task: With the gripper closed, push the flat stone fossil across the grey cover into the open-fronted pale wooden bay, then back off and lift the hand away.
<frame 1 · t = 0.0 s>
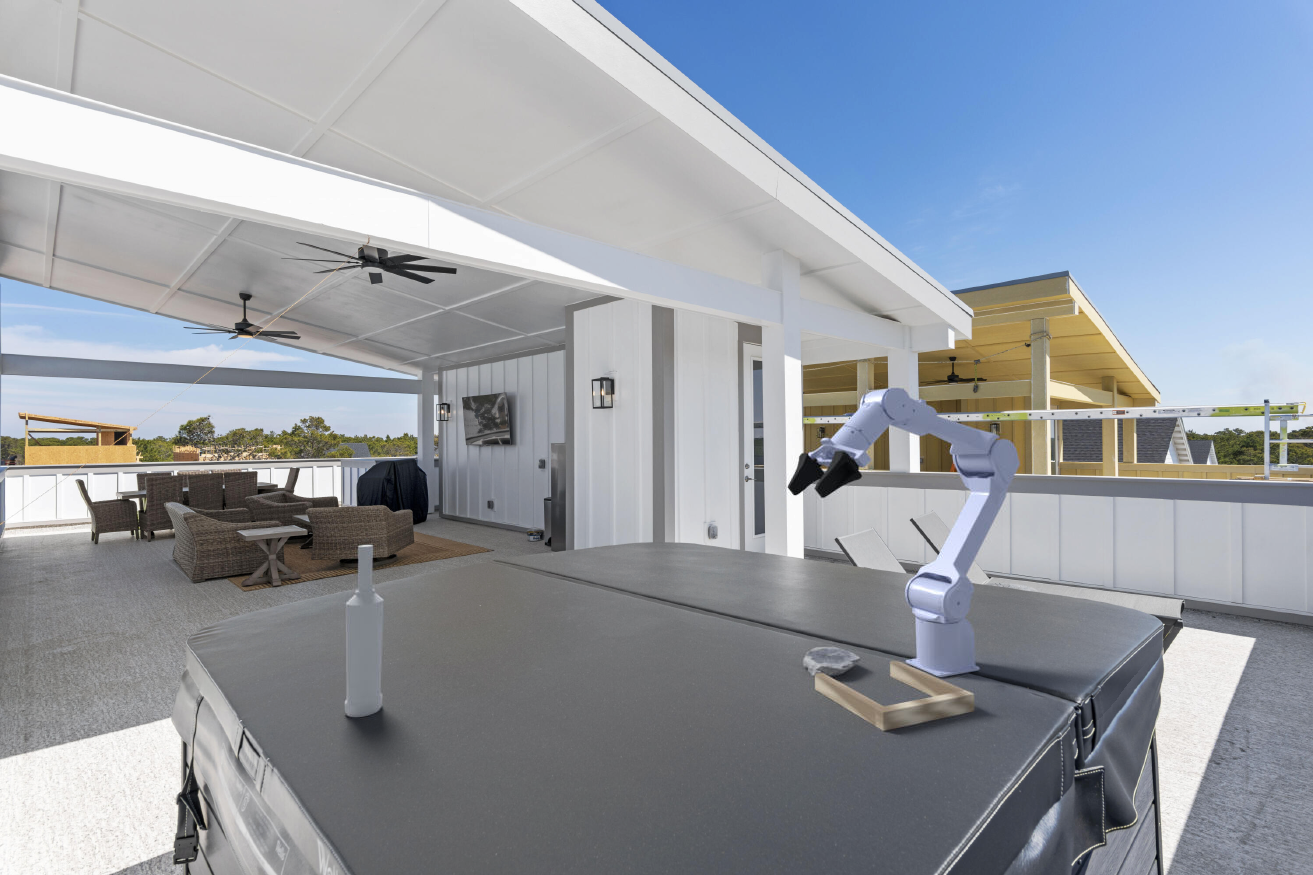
hand: (804, 492, 95), 32 cm above the table, tool tilted 50°, fingers open, 7 cm apart
fossil: (831, 671, 103), on the table
bottle: (363, 711, 87), on the table
bay: (887, 697, 90), on the table
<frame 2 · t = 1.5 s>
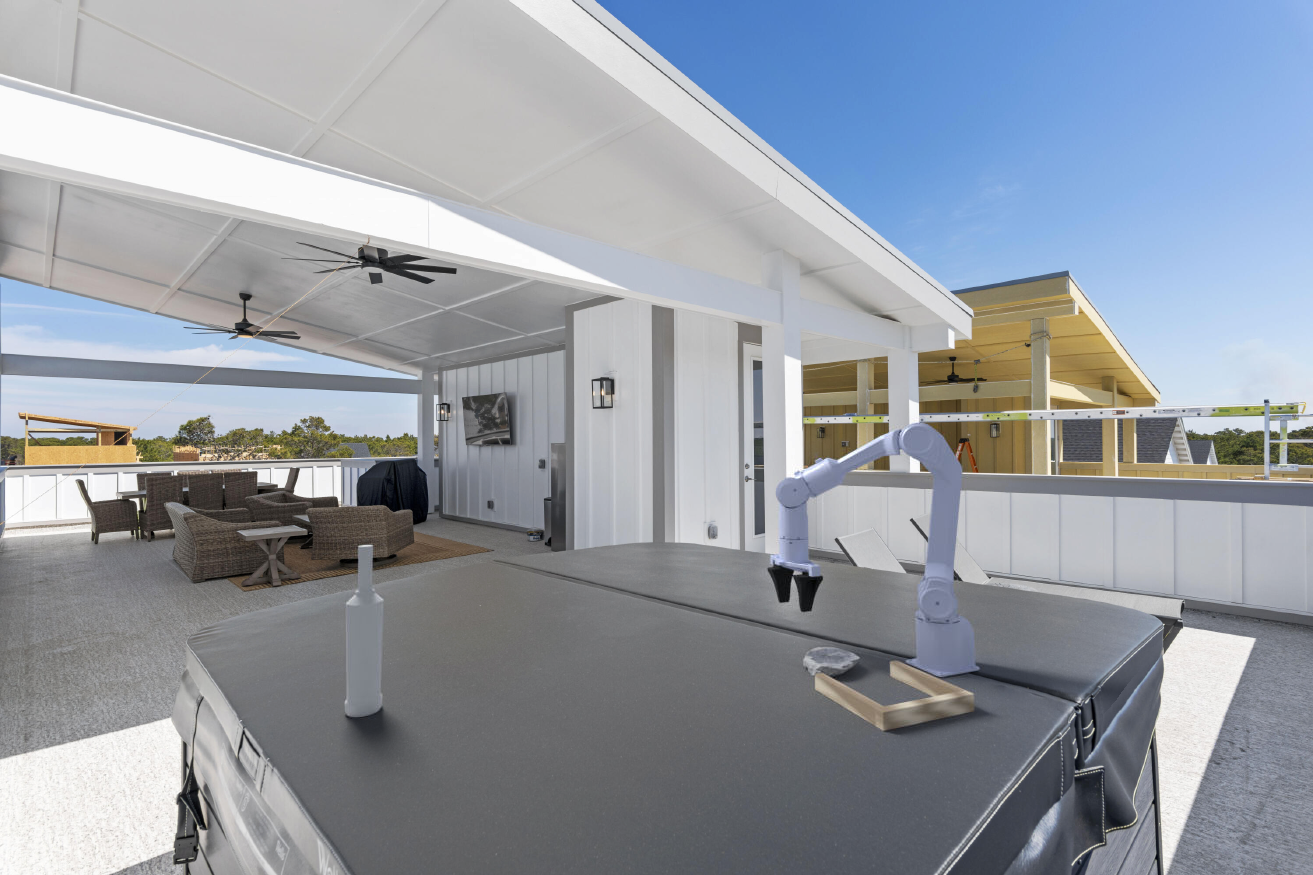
hand: (794, 606, 114), 8 cm above the table, tool pointing down, fingers open, 7 cm apart
nothing on the table moved.
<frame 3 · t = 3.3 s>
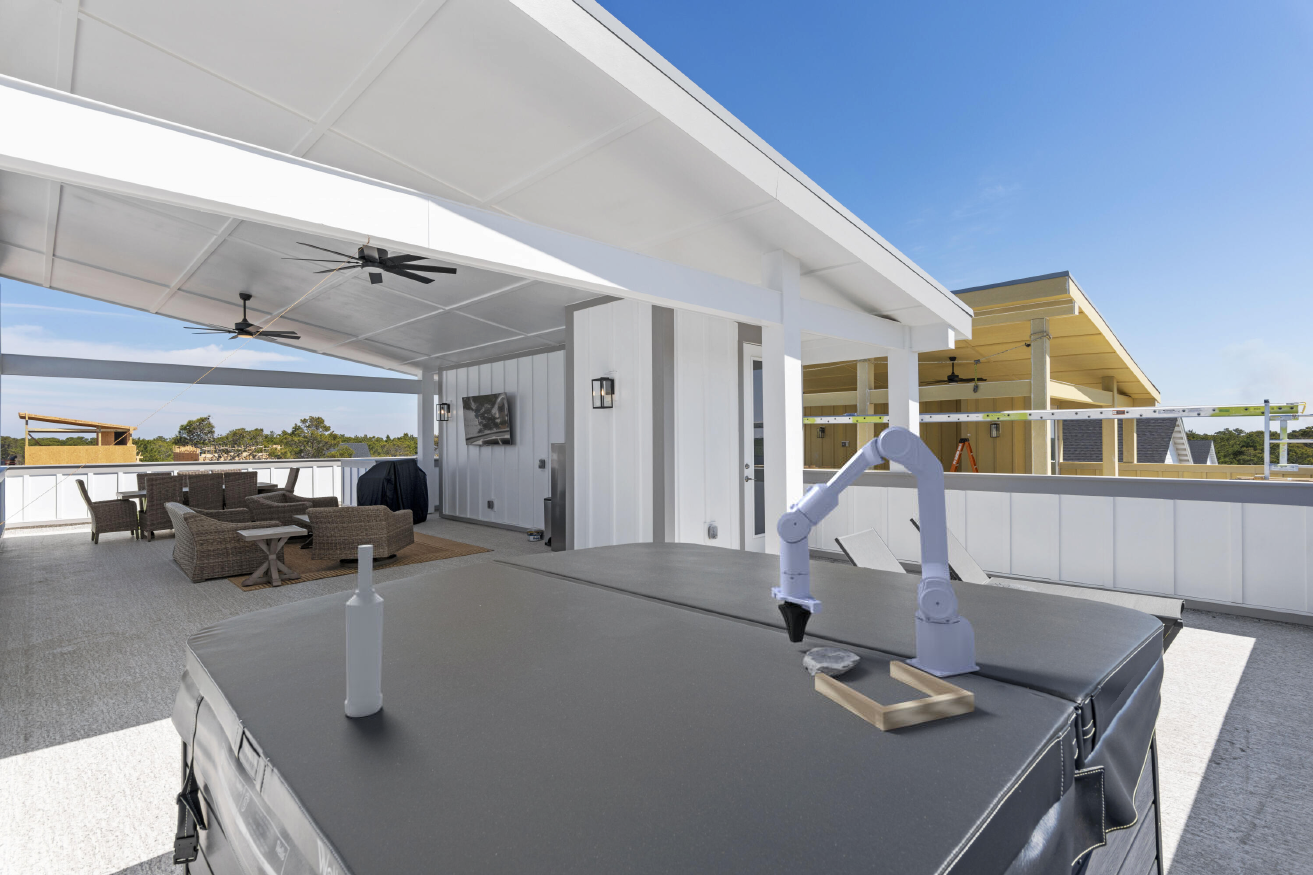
hand: (796, 641, 113), 2 cm above the table, tool pointing down, fingers closed
nothing on the table moved.
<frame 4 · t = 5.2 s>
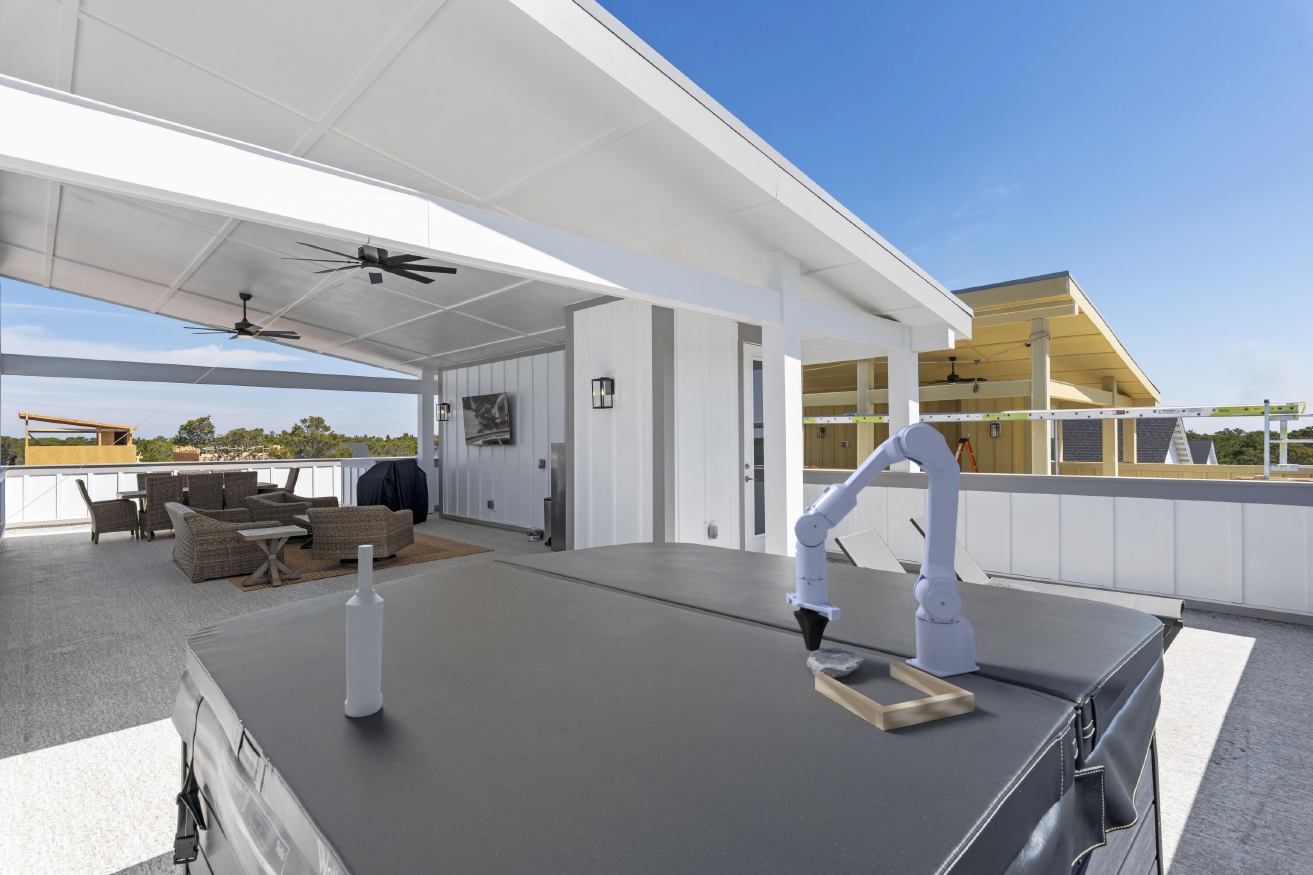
hand: (812, 649, 108), 2 cm above the table, tool pointing down, fingers closed
fossil: (835, 672, 102), on the table, touching gripper
everything else where it was.
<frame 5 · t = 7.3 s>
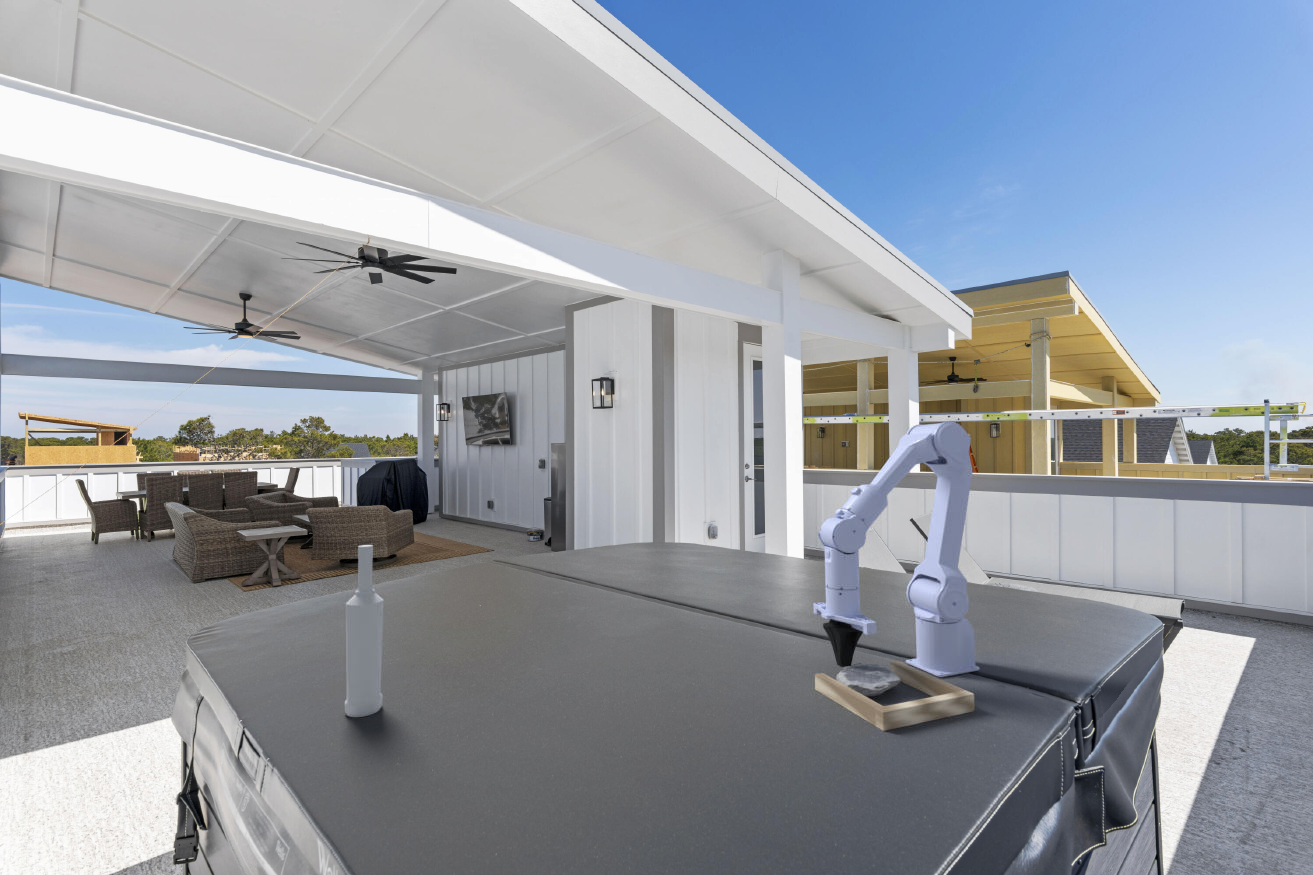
hand: (844, 665, 100), 2 cm above the table, tool pointing down, fingers closed
fossil: (868, 690, 94), on the table, touching gripper
everything else where it was.
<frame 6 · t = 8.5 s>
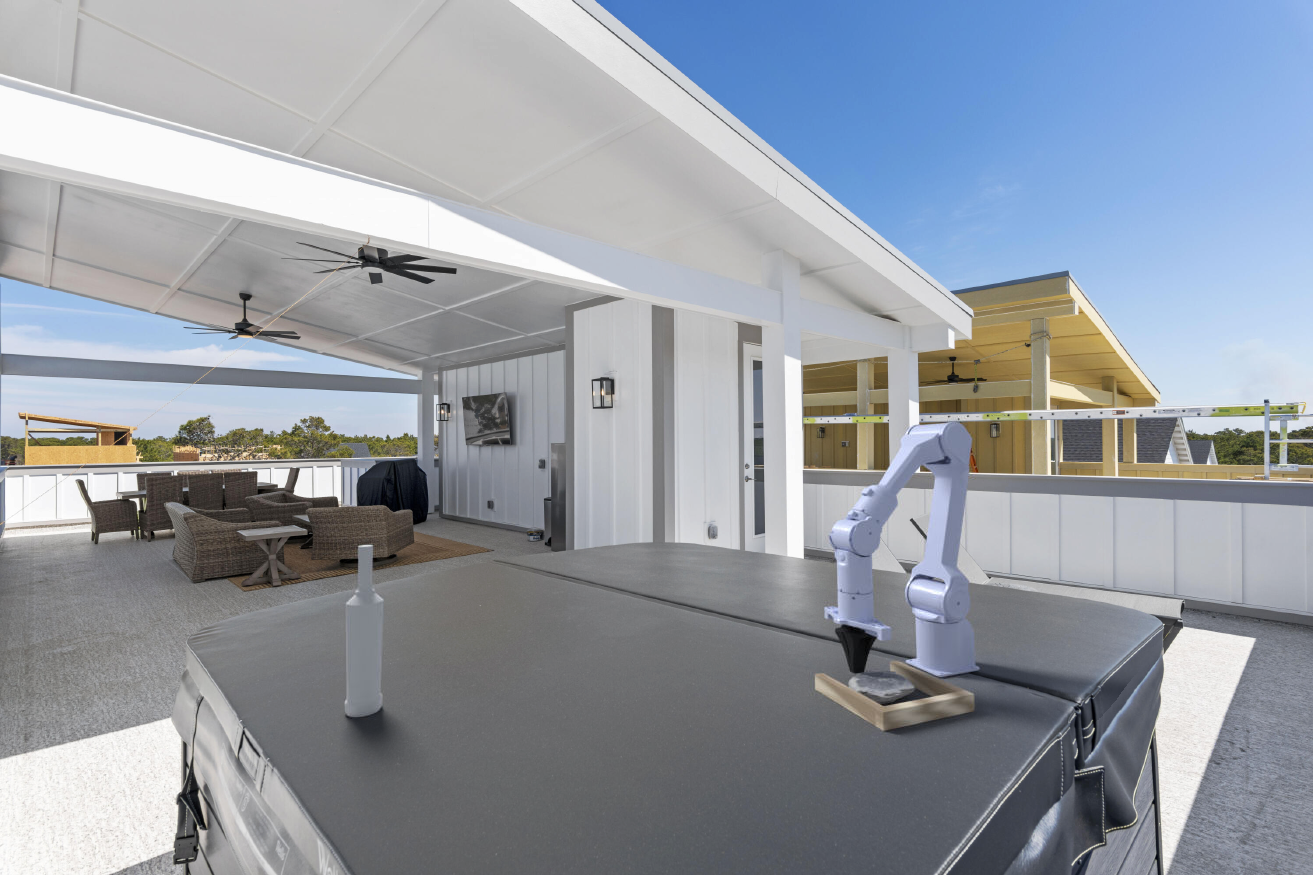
hand: (857, 671, 97), 2 cm above the table, tool pointing down, fingers closed
fossil: (881, 698, 91), on the table, touching gripper
everything else where it was.
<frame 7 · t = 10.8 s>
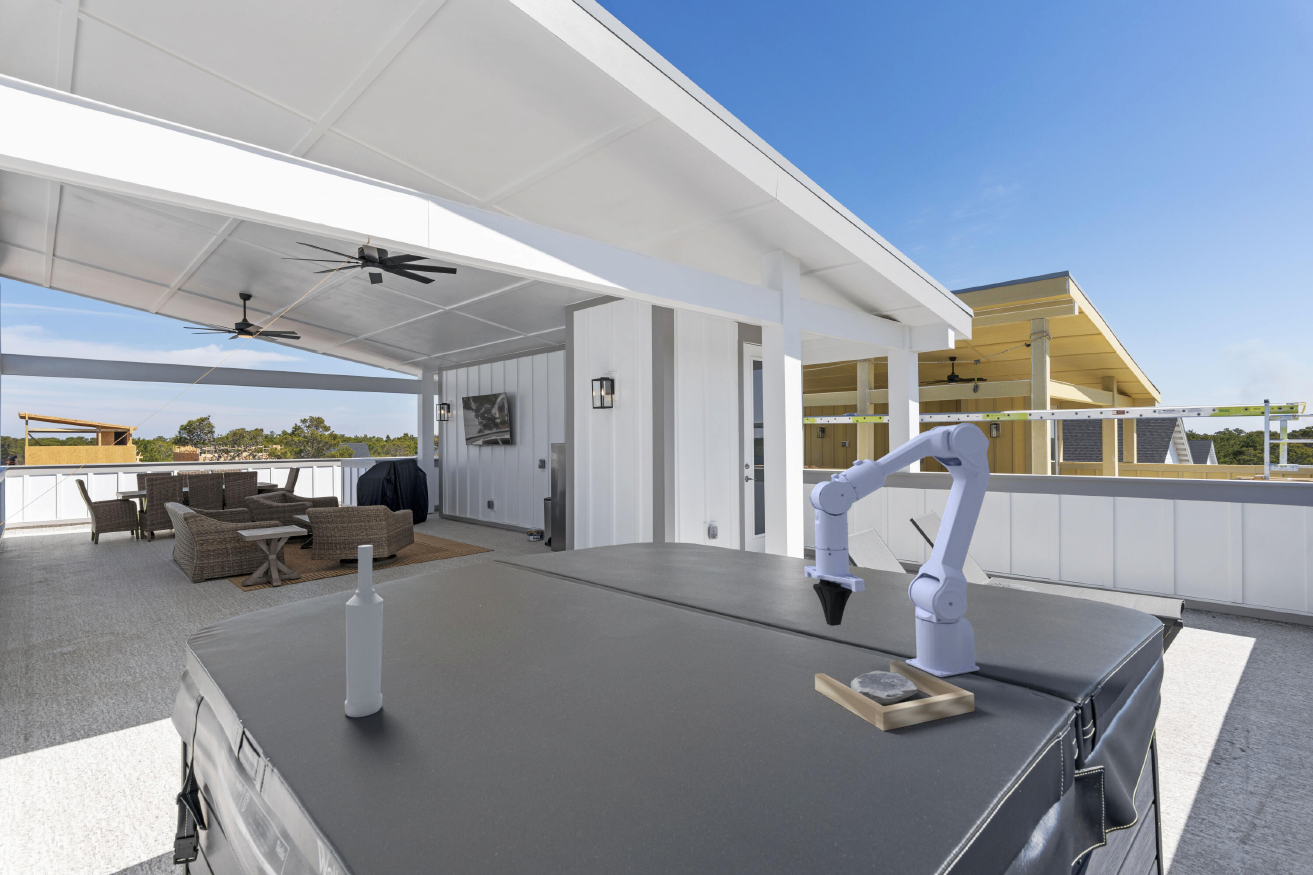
hand: (833, 624, 103), 8 cm above the table, tool pointing down, fingers closed
fossil: (883, 699, 91), on the table
everything else where it was.
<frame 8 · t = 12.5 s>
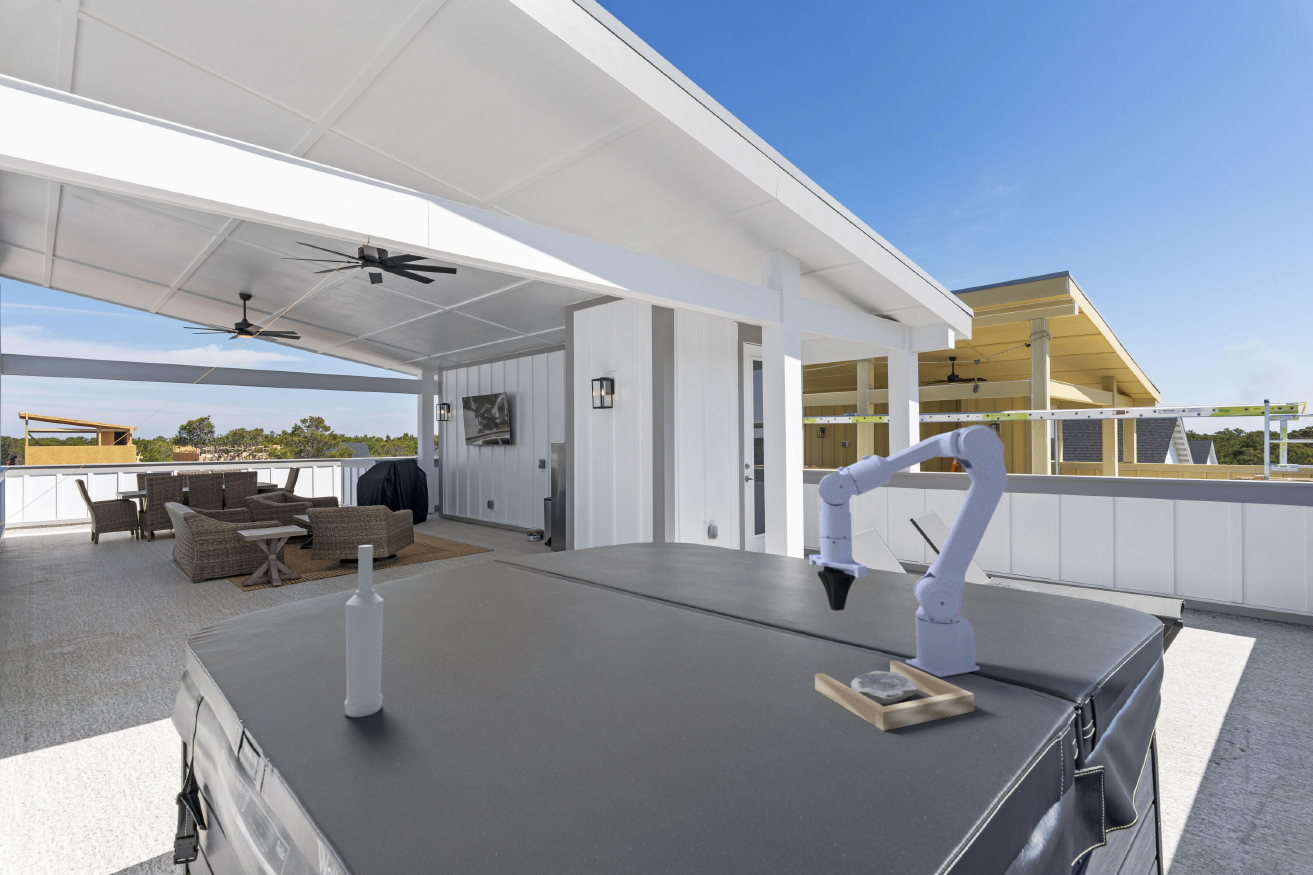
hand: (837, 609, 108), 9 cm above the table, tool pointing down, fingers closed
nothing on the table moved.
at the end: fossil 0.8 cm off-centre on the bay, point -0.5 cm above the bay's base; fossil moved 13.2 cm from its start; fossil tilted 0° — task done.
